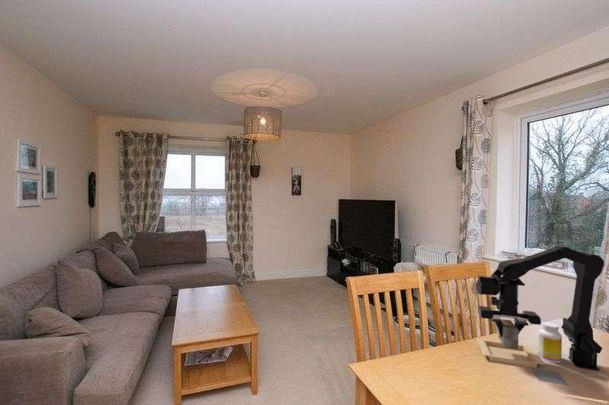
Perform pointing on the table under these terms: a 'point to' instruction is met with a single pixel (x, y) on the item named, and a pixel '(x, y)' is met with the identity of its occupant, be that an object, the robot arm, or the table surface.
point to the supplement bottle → (550, 343)
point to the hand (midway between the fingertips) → (507, 337)
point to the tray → (509, 354)
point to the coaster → (549, 376)
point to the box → (509, 335)
